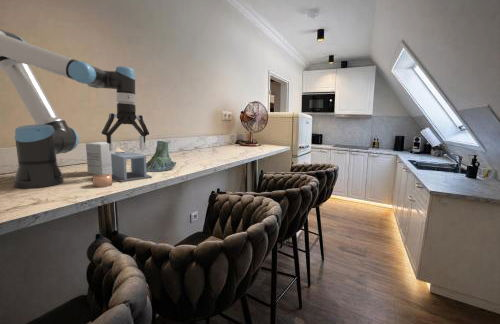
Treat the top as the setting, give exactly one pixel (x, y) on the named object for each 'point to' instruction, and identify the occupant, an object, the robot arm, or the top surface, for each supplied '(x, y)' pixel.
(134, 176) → the mat
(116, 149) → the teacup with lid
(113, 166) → the blue-grey hollow block
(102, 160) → the supplement box
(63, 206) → the top surface
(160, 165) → the tree stump
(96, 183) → the bowl
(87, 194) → the top surface
